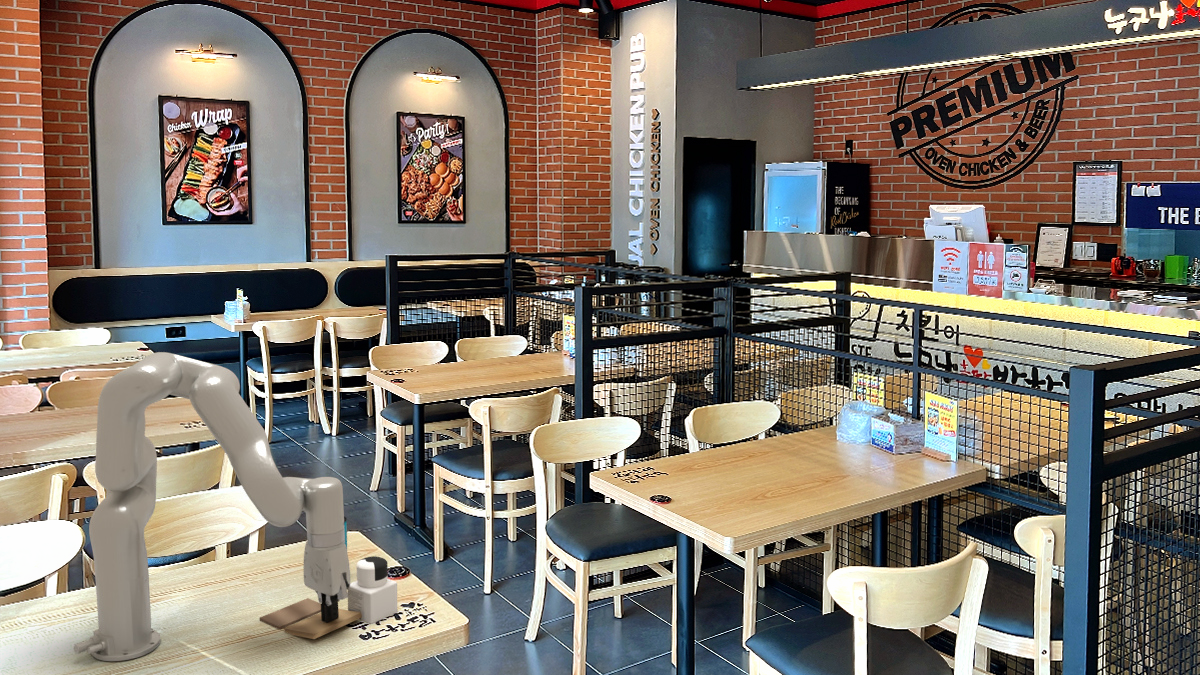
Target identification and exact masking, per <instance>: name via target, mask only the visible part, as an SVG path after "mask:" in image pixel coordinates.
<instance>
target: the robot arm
mask: <svg viewBox="0 0 1200 675" xmlns="http://www.w3.org/2000/svg"><path fill="white" fill-rule="evenodd" d="M240 388H241V385H240V380H239V378H238V377H237V375H236V374H235V373H234V372H233V371H232V370H230V369H228V368H227V367H223V366H221V365H218V364H215V363H210V362H206V361H202V360H198V359H195V358H191V357H187V356H184V355H180V354H175V353H171V352H167V351H166V352H165V351H163V352H162V351H161V352H160V351H158V352H157V351H156V352H153V353H151V354H148V355H147V356H145V357H144V358H142V359H141V360H138V361H137V362H135V363H134V364H133V365H131V366H129V367H127V368H125V369H123V370H121V371H120V372H118V373H116V374H115V375H113V376H112V377H110V379H109V380H108V381H107V382H106V383H105V385H104V386H103V387H102V389H101V391H100V394H99V397H98V402H97V416H96V418H97V419H96V421H97V424H96V436H95V438H96V440H95V465H94V467H95V468H94V472H95V477H96V480H97V482H98V483H99V484H100V485H101V487H103V488H104V489H105V490H106V494H105V497H104V499H103V500H102V501H101V502H100V503H98V505H97V507H95V510H93V513H92V514H91V517H90V521H89V526H88V528H89V529H88V534H89V539H90V544H91V549H92V555H93V556H92V557H93V565H94V578H95V591H96V605H97V609H96V610H97V623H98V624H97V625H98V629H95V630H93V631H92V632H93V636H90V637H89V639H87V640H85V641H81V642H77V643H74V645H73V651H74V652H75V654H77V655H78V654H80V653H85V652H87V653H88V655H92V656H93V658H94V659H97V660H100V661H104V662H121V661H130V660H132V659H137V658H139V657H143V656H145V655H148V654H149V653H151V652H153V651H154V650H156V648H158V647H159V645H160V644H161V642H162V640H161V634H160V632H158V631H157V630H154V629H152V615H151V614H152V613H151V596H150V595H151V594H150V593H151V592H150V575H149V560H148V552H147V546H146V541H145V540H146V539H145V529H146V526H147V525H148V523H149V522H150V520H151V517H153V514H154V512H155V508H156V503H157V468H158V456H157V451H156V447H155V445H154V444H153V442H152V440H150V439H149V437H147V436H146V435H145V434H146V433H145V432H146V416H145V412H146V410H147V408H148V407H149V406H150V405H152V404H155V403H158V402H159V401H161V400H164V399H165V398H167V397H168V396H169V395H171V396H175V397H177V398H178V397H179V398H183V399H187V400H189V402H190V404H191V406H192V408H193V409H194V411H195V412H196V413H197V415H198V416H199V418H200V419H201V421H202V422H203V423H204V425H205V426H206V427H207V429H208V430H209V432H210V433H211V435H212V436H213V438H215V440H216V442H217V443H218V445H219V446H220V447H221V449H222V450H223V452H224V453H225V454H226V455H227V458H228V460H229V463H230V465H231V467H232V469H233V471H234V474H236V478H237V479H238V481H239V483H240V485H241V487H242V489H243V491H244V492H245V494H246V496H247V497H248V498H249V500H250V501H251V502H252V504H253V505H254V507H255V508H256V510H257V511H258V512H259V513H260V515H261V516H262V518H263V519H264V520H266V522H267V523H269V524H270V525H272V526H275V527H278V528H286V527H290V526H291V525H292V526H293V524H295V523H296V522H297V521H298V520H299V518H300V517H301V515H302V513H303V511H304V512H305V520H306V524H305V525H306V536H307V537H306V538H307V540H306V542H305V545H304V546H305V547H304V553H303V583H304V585H305V587H307V589H311V590H313V591H315V593H316V594H317V599H318V603H321V612H320V613H321V620H322V621H323V622H326V623H329V622H332V621H334V620H336V619H338V618H339V611H338V609H339V602H340V601H342V600H345V599H348V589H349V588H350V583H351V567H350V560H349V555H348V553H349V552H348V547H347V548H346V544H344V543H345V530H344V516H345V514H344V513H345V512H344V492H343V489H344V488H343V485H342V484H343V483H342V482H341V480H340V479H339V478H336V477H333V476H321V477H316V478H315V477H314V478H304V477H297V476H296V477H295V476H294V477H293V476H284V477H283V476H282V474H281V473H280V471H279V469H278V468H277V465H276V463H275V461H274V459H273V456H272V452H271V448H270V443H269V439H268V436H267V432H266V431H265V429H264V428H263V426H262V425H261V423H260V422H259V420H258V418H256V416H255V414H254V413H253V412H252V410H251V409H250V407H249V406H248V405H247V403H246V402H245V400H244V399H243V397H242V396H241V395H240Z"/></svg>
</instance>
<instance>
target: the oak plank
mask: <svg viewBox="0 0 1200 675" xmlns="http://www.w3.org/2000/svg"><path fill="white" fill-rule="evenodd" d="M338 611H339V618H338V619H336V620H334V621H332V622H329V623H326V622H323V621H322V620H321V612H320V613H318V614H315V615H313V616H311V617H308V618H306V619H304V620H301V621H299V622H297V623H294V624H292V625H290V626H287V627H285V628H283V629H284V630H283V631H284V632H285V633H287V634H289V635H291V636H297V637H302V638H305V639H312V640H316V639H317V638H320V637H322V636H324V635H327V634H328V633H330V632H334V631H336V630H338V629H340V628H342V627H344V626H346V625H348V624H351V623H352V622H355V621H357V620H360V618H362V615H361V612H355V611H349V610H348V609H342V608H338Z"/></svg>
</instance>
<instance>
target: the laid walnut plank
mask: <svg viewBox="0 0 1200 675" xmlns="http://www.w3.org/2000/svg"><path fill="white" fill-rule="evenodd" d="M319 613H321V603H320V602H319V601H315V600H314V599H310V598H309V597H307V598H304V599H302V600H299V601H297V602H295V603H293V604H289V605H288V606H285V607H282V608H280V609H278V610H275V611H273V612H270V613H268V614H265V615H262V616H261V617H258V618H259V621H260V622H262V623H264V624H267V625H269V626H271V627H273V628H276V629H278V630H282V629H284V628H286V627H288V626H291V625H293V624H295V623H298V622H300V621H302V620H305V619H307V618H309V617H312V616H314V615H316V614H319Z"/></svg>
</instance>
